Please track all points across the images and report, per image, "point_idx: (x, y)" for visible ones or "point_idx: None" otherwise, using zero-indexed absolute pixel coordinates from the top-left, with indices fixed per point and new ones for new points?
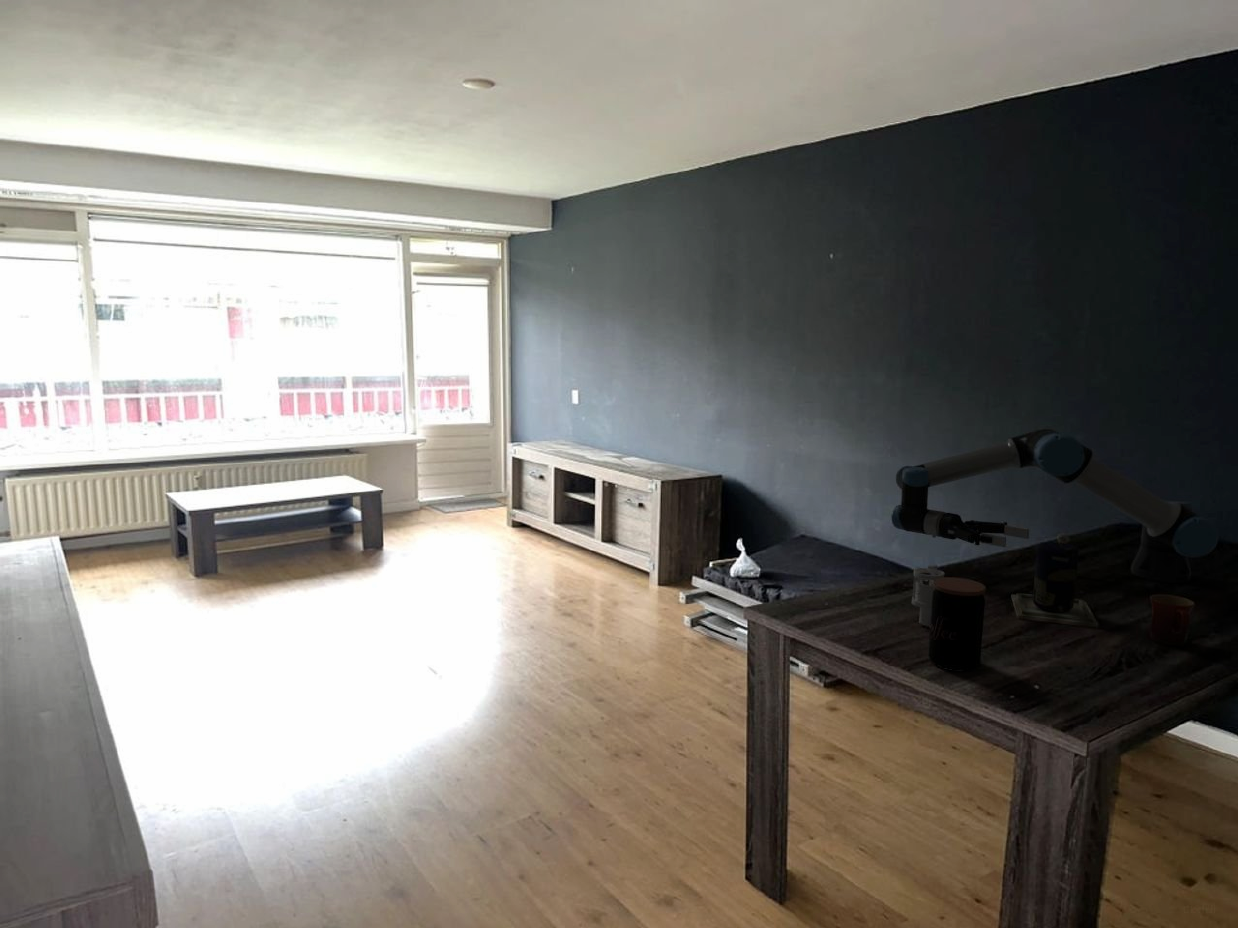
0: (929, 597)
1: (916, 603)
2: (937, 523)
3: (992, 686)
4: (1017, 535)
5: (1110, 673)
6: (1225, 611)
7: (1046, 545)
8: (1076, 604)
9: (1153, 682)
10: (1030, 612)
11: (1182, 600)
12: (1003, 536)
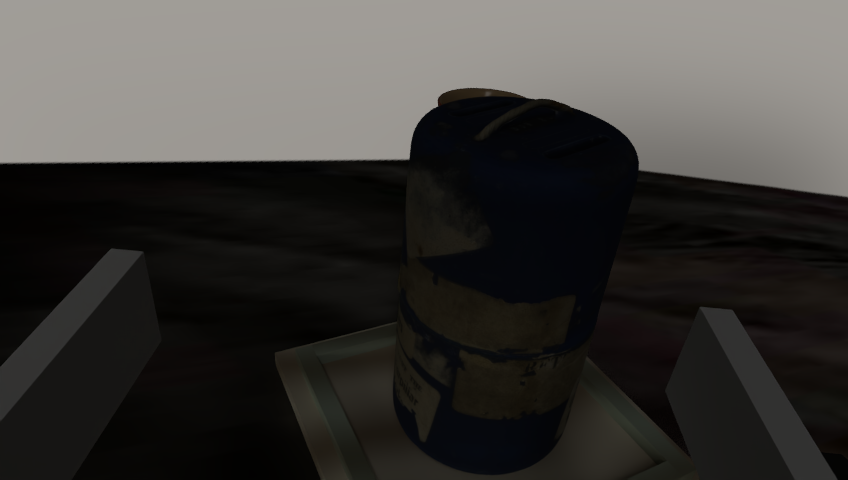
0: None
1: None
2: None
3: None
4: (99, 411)
5: (809, 246)
6: (100, 164)
7: (590, 149)
8: (338, 367)
9: (753, 206)
10: (667, 442)
11: (445, 102)
12: (711, 329)
